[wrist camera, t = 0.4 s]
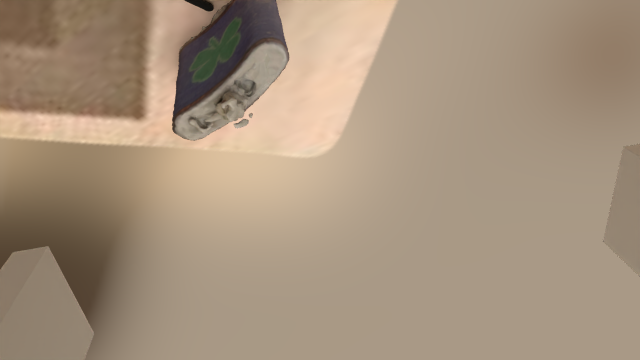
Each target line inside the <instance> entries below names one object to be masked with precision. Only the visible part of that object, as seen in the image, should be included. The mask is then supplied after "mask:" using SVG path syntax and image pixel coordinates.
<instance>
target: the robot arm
mask: <svg viewBox="0 0 640 360" xmlns="http://www.w3.org/2000/svg"><path fill="white" fill-rule="evenodd" d="M603 242H604V243H605V244H606V245H607V246H608V247H609V248H610V249H611V250H612V251H613V252H614V253H615V254H617V255H618V256H619V257H620V258H621V259H622V260H623V261H624V262H625V263H626V264H627V265H628V266H629V267H630V268H631V269H632V270H633V271H634V272H635V273H637V274H638V275H639V276H640V144H636V145H630V146H625V147H623V151H622V156H621V161H620V165H619V170H618V174H617V179H616V184H615V188H614V193H613V198H612V202H611V207H610V212H609V217H608V221H607V226H606V231H605V235H604V240H603ZM93 335H94V332H93V331H92V329H91V327H90V325H89V323H88V321H87V319H86V317H85V315H84V314H83V312H82V310H81V308H80V306H79V304H78V302H77V300H76V298H75V297H74V295H73V293H72V291H71V289H70V287H69V285H68V283H67V281H66V279H65V277H64V276H63V274H62V272H61V270H60V268H59V266H58V264H57V262H56V260H55V258H54V257H53V255H52V253H51V251H50V249H49V247H48V246H47V247H42V248H36V249H30V250H25V251H19V252H13V253H12V255H11V256H10V257H9V259H8V260H7V261H6V263H5V264H4V266H3V267H2V269H1V270H0V360H84V359H85V356H86V353H87V351H88V348H89V346H90V343H91V341H92V338H93Z"/></svg>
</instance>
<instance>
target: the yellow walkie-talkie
mask: <svg viewBox="0 0 640 360" xmlns="http://www.w3.org/2000/svg"><path fill="white" fill-rule="evenodd" d="M185 1H187V2H189V3H191V4H193V5H195V6H198V7H200V8H202V9H204V10H206V11H213V10H214V7H213V5H212V4H211V3H209V2H207V1H205V0H185Z"/></svg>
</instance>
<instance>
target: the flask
mask: <svg viewBox="0 0 640 360" xmlns="http://www.w3.org/2000/svg"><path fill="white" fill-rule="evenodd" d="M191 38H192V39H191V40H190V41H189V42H187V43H186V44H185V45H184V46H183V47H181V48H180V52H179V70H178V76H177V81H176V97H175V104H174V111H173V118H172V121H173V123H172V126H173V127H172V129H173V132H174V133H176V134H177V135H179V136H181V137H182V138H184V139H188V140H194V141H195V140H198V139H202V138H204V137H206V136H207V135H209V134H210V133H212V132H214V131H215V130H217V129H220V128H221V127H223V126H224V125H226V124H228V123H229V122H232V121H236V120H237V119H238V118H242V117H243V116H244V112H245V111H246V109H248V108H249V107H250V106H251V105H252V104H253V103H254V102H255V101H256V100H258V99H259V97H260V96H261V95H262V94H263V93H264V92H265V91H266V90H267V89H268V88H269V86H270V85H271V84H272V83H273V82H274V81H275V80H276V79H277V77H278V76H279V75H280V74H281V72H282V71H283V70H284V69H285V67H286V65H287V63H288V61H289V53H288V48H287V45H286V42H285V38H284V33H283V28H282V23H281V19H280V16H279V12H278V7H277V3H276V0H232V1H231V2H230V3H228V4H227V5H226V6H223V7H222V8H221V9H220V10H218V11H217V13H216V14H215V15H214V17H213V20H212V22H211V24H210V26H208V27H207V28H206V27H203V29H202V31H201V33H200V34H199V35H198V36H196V37H191ZM252 115H253V114H252V113H250V114H249V117H250V118H252ZM248 122H249V120H246V119H243V120H242V121H240V122H239V123H236V124H234V126H235V128H241V127H244V126H246V125H247V124H248Z"/></svg>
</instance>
